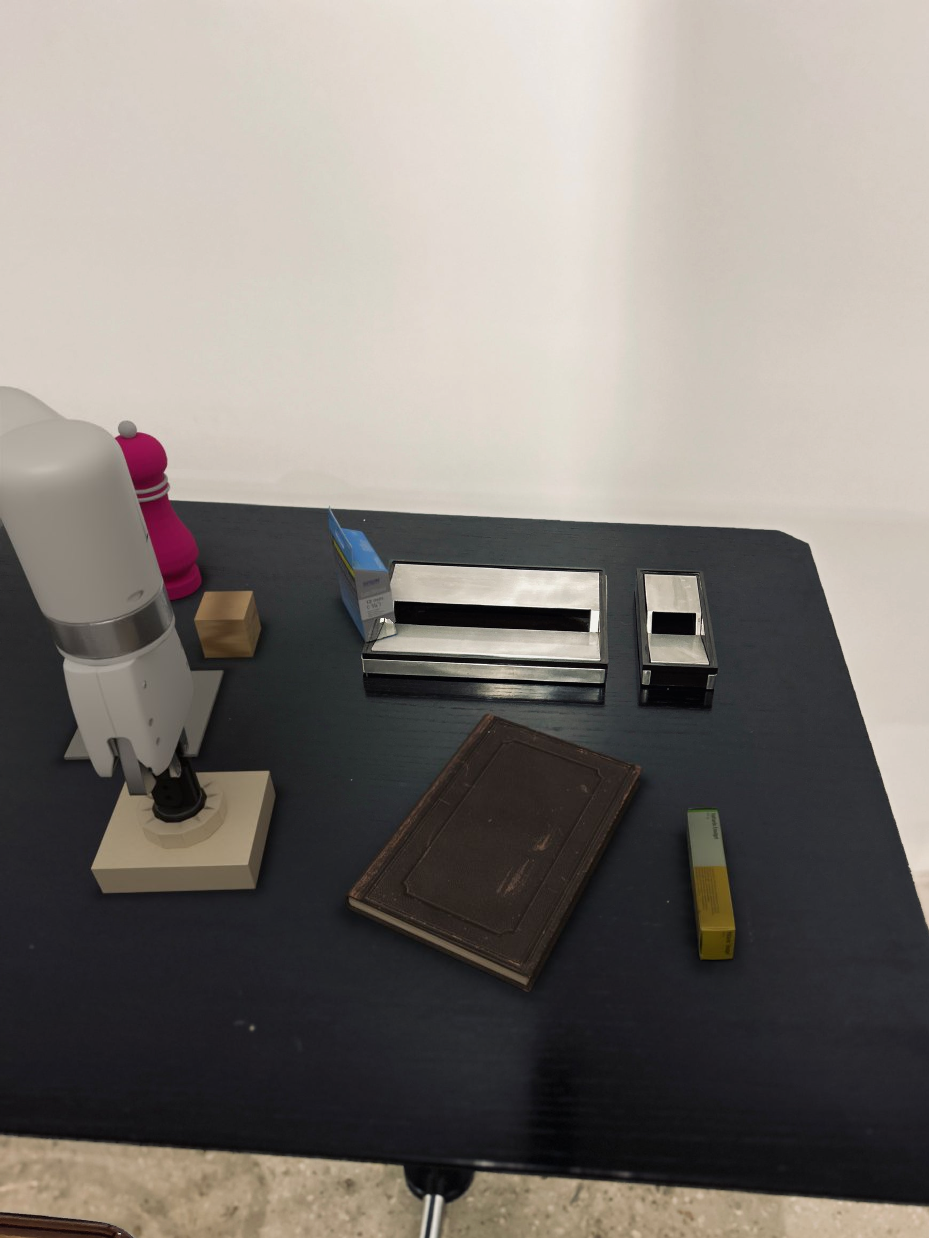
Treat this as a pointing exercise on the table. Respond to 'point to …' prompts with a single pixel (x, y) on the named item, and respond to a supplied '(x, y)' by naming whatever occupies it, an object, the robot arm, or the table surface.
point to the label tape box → (361, 577)
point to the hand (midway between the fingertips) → (179, 798)
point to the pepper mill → (160, 511)
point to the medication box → (710, 884)
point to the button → (180, 811)
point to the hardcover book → (498, 849)
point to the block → (228, 624)
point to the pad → (195, 722)
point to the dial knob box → (189, 839)
